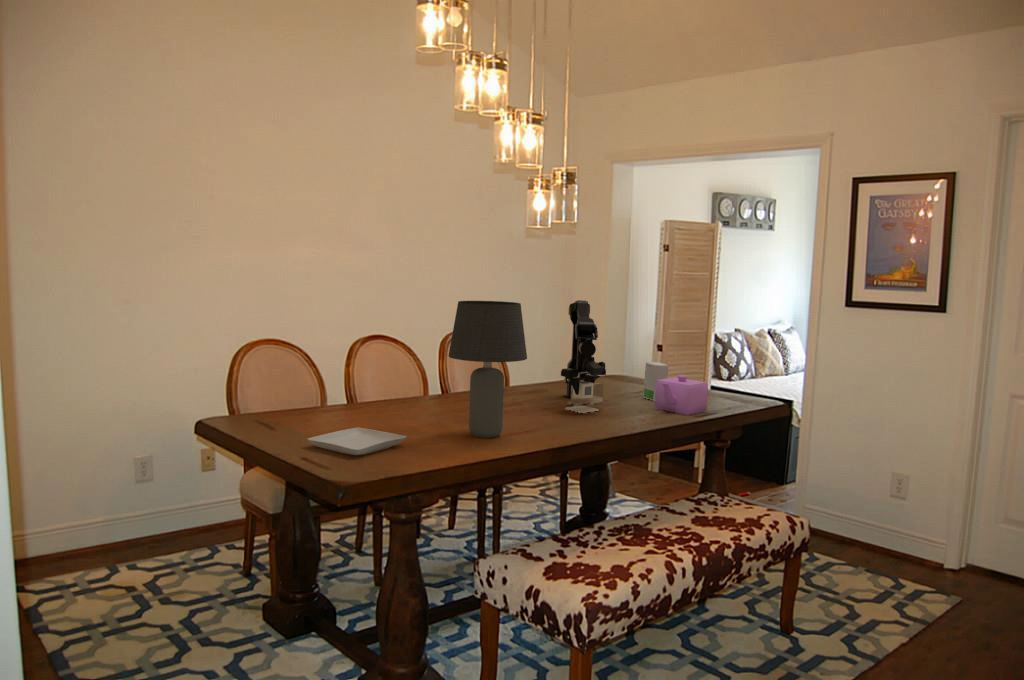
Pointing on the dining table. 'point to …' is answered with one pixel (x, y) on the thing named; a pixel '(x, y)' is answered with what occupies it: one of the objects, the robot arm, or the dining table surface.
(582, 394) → the cream grey-paneled cube
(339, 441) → the salad plate
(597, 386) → the oak screen
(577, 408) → the cream square tile
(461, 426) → the dining table surface
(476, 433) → the lamp
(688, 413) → the violet knobbed box
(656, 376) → the skincare box
